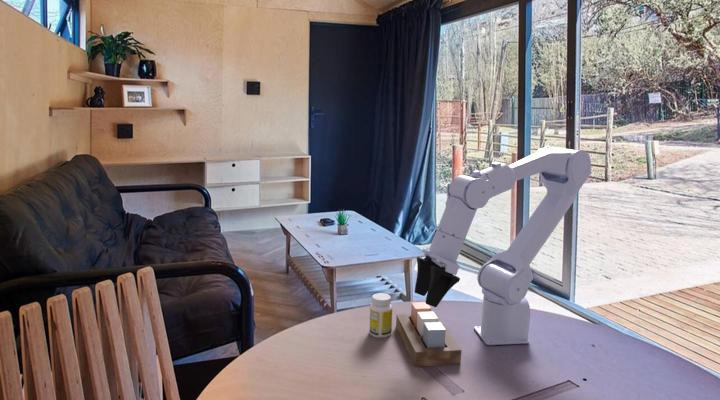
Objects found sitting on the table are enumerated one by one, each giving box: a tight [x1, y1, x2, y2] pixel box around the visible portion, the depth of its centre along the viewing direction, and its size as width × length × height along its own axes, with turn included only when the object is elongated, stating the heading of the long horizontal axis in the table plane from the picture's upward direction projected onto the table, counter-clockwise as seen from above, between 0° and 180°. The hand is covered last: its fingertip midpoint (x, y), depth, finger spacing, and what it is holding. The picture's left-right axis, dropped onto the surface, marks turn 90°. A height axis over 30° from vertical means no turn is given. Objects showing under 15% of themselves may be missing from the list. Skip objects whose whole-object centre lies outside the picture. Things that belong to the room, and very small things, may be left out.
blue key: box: [423, 322, 446, 348], centre depth 102 cm, size 3×3×4 cm
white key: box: [417, 310, 438, 336], centre depth 107 cm, size 3×3×4 cm
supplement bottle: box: [369, 292, 393, 338], centre depth 111 cm, size 5×5×8 cm
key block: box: [395, 312, 462, 368], centre depth 107 cm, size 9×17×3 cm, turn 9°
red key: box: [410, 301, 432, 325], centre depth 112 cm, size 3×3×4 cm
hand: (424, 299), depth 101 cm, fingers open, 7 cm apart
